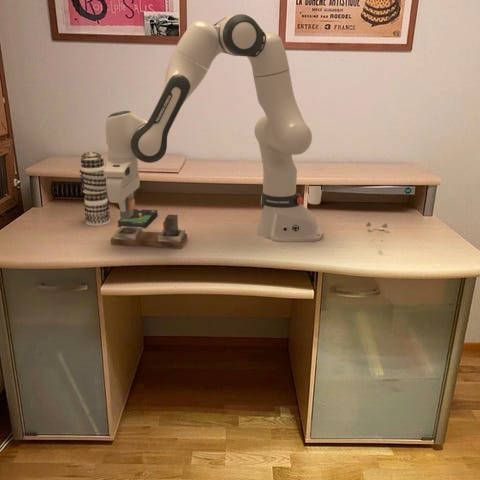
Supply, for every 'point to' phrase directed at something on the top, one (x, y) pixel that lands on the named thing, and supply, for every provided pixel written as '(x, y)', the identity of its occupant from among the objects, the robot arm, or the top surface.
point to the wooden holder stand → (152, 235)
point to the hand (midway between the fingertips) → (126, 208)
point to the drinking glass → (314, 191)
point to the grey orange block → (128, 207)
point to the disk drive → (139, 218)
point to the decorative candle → (94, 189)
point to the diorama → (377, 229)
